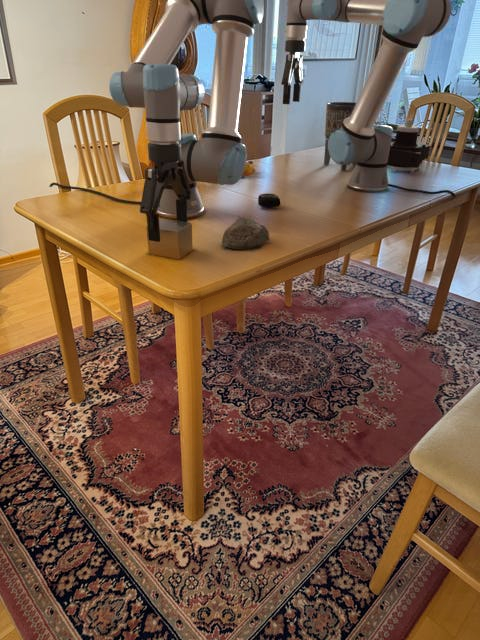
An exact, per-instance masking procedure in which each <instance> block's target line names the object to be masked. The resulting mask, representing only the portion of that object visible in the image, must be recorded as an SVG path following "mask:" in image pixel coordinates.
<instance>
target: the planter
mask: <svg viewBox="0 0 480 640" xmlns="http://www.w3.org/2000/svg"><path fill="white" fill-rule="evenodd" d="M356 103H357V102H353V101H333V102H327V103H326V109H325V124H324V125H325V126H324V139H325V144H324V156H323V157H324V158H323V165H325V166H328V165H330V163H331V159H332V158H331V157H330V154H329V150H328V141H329V138H330V136H331V134H332V133H333V132H335V131H336V130H340V128H341V126H342V123H343V121H344V119H346V118H348V117H350V116H351V114H352V112H353V109H354V107H355V105H356ZM355 165H356V163H352V166H353V167H355ZM347 167H348V165H345V164H344V165H341V166H340V170H341V172H345V171H347Z"/></svg>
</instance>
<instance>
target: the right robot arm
mask: <svg viewBox="0 0 480 640" xmlns="http://www.w3.org/2000/svg"><path fill="white" fill-rule="evenodd" d="M286 5H287V9H286V12H287V13H286V27H285V28H286V29H284V32H285V38H286V40H285V41H284V42H285V43H284V52H286V53H288V54H286V55H285V62H284V67H283V74H282V78H281V84H280V85H282V86H283V88H282V89H283V90H282V91H283V93H282V105H291V93H292V102H296V103H300V101H301V90H302V89H301V87H302V84H304V79H303V78H304V76H303V74H304V73H303V55H302V54H301V53H305V51H306V45H307V44H306V43H307V41H306V39H307V32H308V31H307V30H308V21H315V20H316V21H318V20H319V21H329V22H340V23H353V24H365V25H374V26H375V25H376V26H382V27H383V29H382V31H381V34H380V35H381V38H382V44H381V46H380V48H379V51H378V53H377V55H376V57H375V60H374V62H373V65H371V66H372V67H371V69H370V71H369V74H368V76H367V77H366V81H365V82H364V85H363V87H362V89H361V92H360V94H359V96H358V98H357V101H356V102H355V103H356V105H355V107H354V109H353V112H352V114H351V116H350V117H348V118H346V119H344V121H343V123H342V126H341V128H340V130H336V131H335V132H333V133H332V134H331V136H330V138H329V141H328V150H329V154H330V157H331V158H330V159H331V160H332V161H333V162H334V163H335V164H337V165H341V166H342V165H344V164H345V165H347V166H348V165H351V164H352V163H356V165H355V166H354V167H353V171H351V174H350V176H349V179H348V182H347V187H348V188H349V189H351V190H354V191H358V192H363V193H364V192H365V193H382V192H386V191H388V189H389V187H390V188H394V189H397V190H402V191H405V192H412V193H420V194H426V195H439V194H449V195H451V196H452V197H456V194H455V193H454V192H453V191H452V190H448V189H443V190H437V191H436V190H435V191H428V190H423V189H415V188H409V187H404V186H400V185H396V184H392V183H389V178H388V173H387V172H388V171H387V169H388V168H387V162H388V156H389V151H390V145H391V143H392V140H393V131H394V129H393V127H392V126H390V125H383V124H376V122H377V119H378V118H379V116H380V113H381V111H382V109H383V107H384V105H385V103H386V101H387V99H388V97H389V96H390V93H391V91H392V89H393V87H394V85H395V83H396V81H397V80H398V76H399V75H400V73H401V70H402V68H403V67H404V64H405V63H406V61H407V58H408V56H409V55H410V53H411V52H413V51H416V50H418V47H419V45H420V44H421V41H422V40H423V38H430V37H434V36H435V35H437V34H438V33H440V32H441V31H443V30H444V28H445V27H446V26H447V24H448V23H449V21H450V18H451V14H452V4H451V1H450V0H287V2H286ZM292 79H293V80H294V83H293V92H291V91H292V85H291V83H292Z"/></svg>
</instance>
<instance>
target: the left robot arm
mask: <svg viewBox="0 0 480 640" xmlns="http://www.w3.org/2000/svg"><path fill="white" fill-rule="evenodd" d="M264 6H265V2H264V0H167V1H166V3H165V7H164V14H163V15H162V17H161V18H160V20H159V21H158V23H157V24H156V26H155V28H154V29H153V30H152V32H151V34H150V35H149V37H148V38H147V39H146V41H145V43H144V44H143V46H142V47H141V49H140V51H139V52H138V53H137V55H136V56H135V58H134V60H133V61H132V62H131V65H130V67H128V69H127V71H124V70H123V71H122V70H121V71H117V72H114V73H112V75H111V76H110V79H109V82H108V83H109V84H108V88H109V94H110V97H111V99H112V101H113V102H114V103H115V104H116V105H117V106H121V107H127V108H131V109H132V108H136V109H137V108H138V109H139V108H141V109H145V110H144V111H145V123H146V125H145V128H146V139H147V141H149V142H148V143H147V158H148V160H150V161H151V162H152V163H153V167H152V168H149V167H146V168H145V169H144V184H143V189H142V195H141V200H140V201H137V200H127V199H121V198H117V197H116V196H115V197H114V196H113V195H109V194H106V193H104V192H101V191H97V190H94V189H90V188H85V187H79V186H73V185H64V184H62V183H61V184H60V183H58V182H51V183H50V184H49V186H48V187H49V188H52V187H53V186H57V187H59V188H62V189H68V190H78V191H84V192H88V193H93V194H96V195H99V196H102V197H105V198H107V199H110V200H113V201H115V202H119V203H123V204H131V205H139V206H140V207H139V213H140V214H144V215H145V216H146V226H147V227H148V236H149V240H150V241H156V242H160V228H159V219H160V218H163V219H170V220H176V221H183V222H188V220H189V219H194V218H197V217H200V216H201V215H204V204H203V200H202V197H201V194H200V192H199V190H198V183H207V184H214V185H215V184H216V185H219V186H224V185H228V186H233V185H235V184H237V183H238V182H239V181H240V179H241V178H242V174H243V172H244V169H245V165H246V162H247V161H248V160H247V159H248V155H247V153H248V150H247V147H246V145H245V144H243V143H242V141H243V140H242V138H243V137H242V136H241V135H240V133H239V132H238V129H239V119H240V111H241V103H242V102H241V100H242V92H243V91H242V90H243V84H244V83H243V82H244V74H245V65H246V55H247V48H248V47H247V46H248V40H249V39H250V38H251V37H252V36H253V35H254V33H255V26H259V25H260V24H261V23H262V22H263V20H264V19H263V18H264V15H265V14H264V13H265V12H264V10H265V7H264ZM200 25H211V29H212V31H213V33H214V34H215V46H214V47H215V49H214V57H213V68H212V79H211V89H210V98H209V99H210V100H209V110H208V121H207V127H206V129H204V130H203V131H202V132H201V139H200V140H197V136H196V134H194V133H181V132H182V131H181V111H192V110H193V109H196V108H198V107H199V106H200V105H201V104H202V103H203V101H204V98H205V87H204V84H203V82H202V81H201V79H200V78H198V77H197V76H196V75H193V74H190V73H182V74H181V73H179V69H178V67H177V66H176V65H175V64H172V63H173V61H174V59H175V57H176V56H177V54H178V52H179V50H180V49H181V47H182V45H183V44H184V42H185V40H186V39H187V37H188V35H189V34H192V33H193V32H195V31H196V29H197V28H198V26H200ZM151 179H152V180H151ZM157 181H158V183H157Z"/></svg>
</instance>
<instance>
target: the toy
mask: <svg viewBox="0 0 480 640" xmlns="http://www.w3.org/2000/svg"><path fill="white" fill-rule="evenodd" d="M255 173H256V169H255V163H254V161H253V160H247V161H246V165H245V169H244V172H243V174H242V176H241V178H243V177H245V178H246V177H249V176H252V175H254V174H255Z"/></svg>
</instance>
